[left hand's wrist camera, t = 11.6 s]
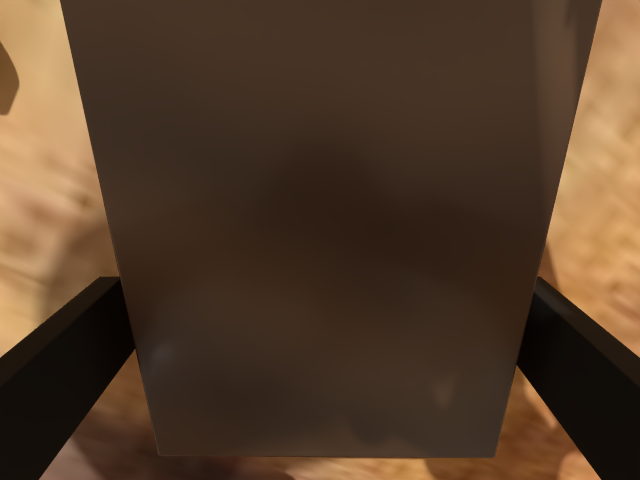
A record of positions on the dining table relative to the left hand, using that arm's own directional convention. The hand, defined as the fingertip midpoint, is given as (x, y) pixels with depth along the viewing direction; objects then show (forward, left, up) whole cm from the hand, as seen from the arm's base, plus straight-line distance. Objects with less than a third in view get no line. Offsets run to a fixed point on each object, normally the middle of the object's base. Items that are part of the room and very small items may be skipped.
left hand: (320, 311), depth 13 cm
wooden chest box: (+3, -4, -6) cm, 8 cm away
